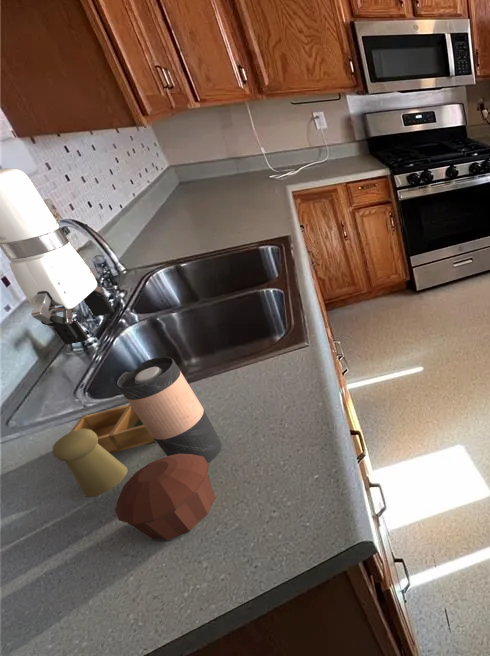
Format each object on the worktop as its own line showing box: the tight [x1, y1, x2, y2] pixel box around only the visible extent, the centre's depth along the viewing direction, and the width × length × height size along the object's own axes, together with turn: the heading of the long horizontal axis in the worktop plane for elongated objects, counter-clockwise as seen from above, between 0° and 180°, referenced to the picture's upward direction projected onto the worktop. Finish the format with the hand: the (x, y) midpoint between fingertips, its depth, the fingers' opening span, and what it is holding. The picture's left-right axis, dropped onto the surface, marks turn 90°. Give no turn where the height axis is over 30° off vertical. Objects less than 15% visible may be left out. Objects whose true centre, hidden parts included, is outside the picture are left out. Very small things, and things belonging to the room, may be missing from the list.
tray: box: [69, 403, 156, 455], centre depth 81 cm, size 16×9×4 cm, turn 109°
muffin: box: [114, 454, 216, 542], centre depth 64 cm, size 12×11×10 cm
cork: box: [52, 429, 128, 498], centre depth 70 cm, size 6×6×11 cm
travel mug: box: [116, 356, 222, 464], centre depth 71 cm, size 8×8×20 cm
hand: (92, 327), depth 78 cm, fingers open, 9 cm apart
